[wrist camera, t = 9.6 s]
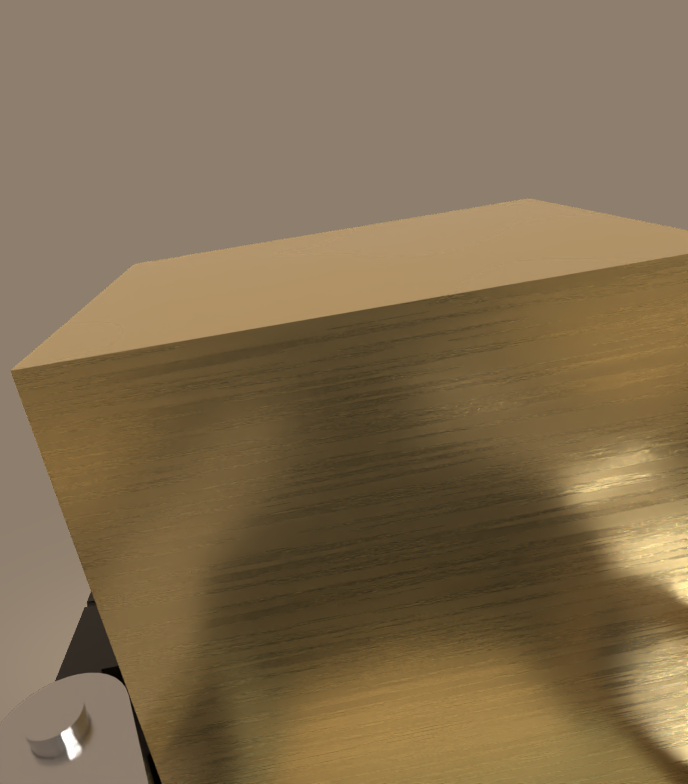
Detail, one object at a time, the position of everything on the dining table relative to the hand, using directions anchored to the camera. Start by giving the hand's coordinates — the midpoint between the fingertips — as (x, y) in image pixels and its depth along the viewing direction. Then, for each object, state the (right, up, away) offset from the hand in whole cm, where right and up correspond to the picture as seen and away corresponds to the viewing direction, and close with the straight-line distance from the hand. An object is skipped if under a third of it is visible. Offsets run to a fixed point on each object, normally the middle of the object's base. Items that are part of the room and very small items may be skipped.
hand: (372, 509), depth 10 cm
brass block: (+2, -9, +1) cm, 9 cm away
